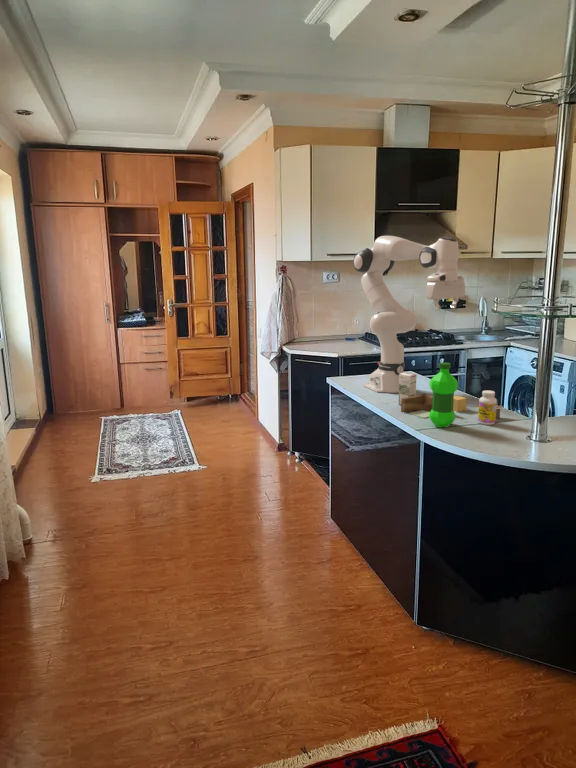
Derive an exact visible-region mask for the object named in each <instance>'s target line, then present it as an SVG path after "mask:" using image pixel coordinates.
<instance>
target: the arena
mask: <svg viewBox="0 0 576 768" xmlns="http://www.w3.org/2000/svg"><path fill="white" fill-rule="evenodd" d="M432 401H433V395H430V394H426V393H421V394H416V396H411V397H406V398H401V405H400V412H401V413H403V412H404V414H405V412H406V413H411V412H416V411H421V410H425V411H428V412H431V410H432ZM415 410H416V411H415ZM410 411H411V412H410Z"/></svg>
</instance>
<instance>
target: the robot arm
mask: <svg viewBox="0 0 576 768" xmlns="http://www.w3.org/2000/svg"><path fill="white" fill-rule="evenodd" d="M459 248H460V247H459V243H458V240H457V239H456V238H454V237H450V236H449V237H446V236H441V237H440V238H438V240H437V241H436V242H434V243H432V244H430V245H426V244H422V243H419V242H415V241H411V240H409V239H407V238H403V237H400V236H395V235H381V236H378V237H377V238H376V239H375V240H374V242H373V246H372V248H368V247H366V248H364V249H363V250H361V251H359V252H357V253H356V254H354V257H353V261H352V263H353V267H354V269H355V271H356V272H359V273H363V275H362V277H361V279H360V283H361V287H362V290H363V292H364V294H365V296H366V299H367V300H368V302H369V304H370V306H371V308H372V310H374V311H375V312H377V313H376V314H373V315H372V316H371V318H370V321H369V327H370V330H371V332H372V333H373V334H374V335H375V336H376V337H377V339H378V341H379V345H380V361H377V365H378V368H377V369H375V370H374V371H373V372H371V373H370V374H369V377H368V382H365V383H364V384H363V387H365V388H367V389H369V390H372V391H374V392H376V393H390V394H392V393H394V394H395V393H399V374H401V373H403V372H405V371H404V370H405V365H406V363H405V361H404V360H405V359H404V356H405V347H404V344H403V343H401V342H400V341H399V340H398V336H397V334H405V333H407V332H410V331H412V330H415V328H416V327H417V317H416V315H415V313H414V312H413V311H411V310H409V309H407V308H405V307H404V306H402V305H401V304H400V303H399V302H398V301H397V300H396V299H395V298H394V296H393V295H392V293H391V291H390V290H389V288H388V286H387V285H386V283H385V281H384V279H383V276H387V275H388V273H389V272H390V271H391V270H392V268H393V267H394V265H395V262H402V261H411V260H419V263H420V265H421V267H423V268H425V269H436V270H435V271H436V272H434V273H431V274H430V275H428V276H426V277H427V278H426V280H427V283H426V289H425V291H426V293H425V296H426V299H428V300H430V301H431V300H432V302H433V304H434V310H436V311H440V310H441V305H440V304H439V302H440V300H444V299H452V303H450V309H456V308H457V303H458V302H459V299H460V298H464V297H465V296H466V285H465V279H464V277H463V276H462V275H459V267H458V261H459V256H460V255H459V252H460V251H459Z"/></svg>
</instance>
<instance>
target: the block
mask: <svg viewBox="0 0 576 768" xmlns="http://www.w3.org/2000/svg"><path fill="white" fill-rule="evenodd" d="M467 399H468V398H467V397H464V396H460V395H454V402H453V411H456V412H455V413H459V412H458V411H460V412H464V411H463V410H465V411H467Z"/></svg>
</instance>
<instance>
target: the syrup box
mask: <svg viewBox="0 0 576 768" xmlns="http://www.w3.org/2000/svg"><path fill="white" fill-rule="evenodd" d="M416 391H417V373H416V372H409V371H404V372H403V373H401V374H399V392H398V405H399V406H401V398H406V397H411V396H416V395H417V393H416Z"/></svg>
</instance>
